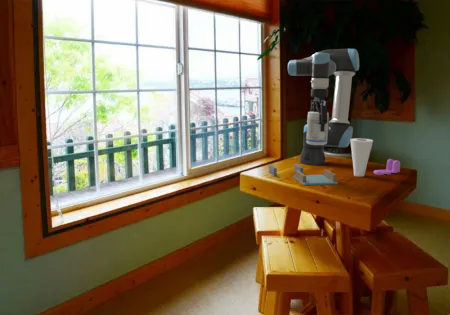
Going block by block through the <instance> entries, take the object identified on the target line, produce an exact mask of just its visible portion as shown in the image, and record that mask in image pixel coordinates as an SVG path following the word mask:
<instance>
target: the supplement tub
mask: <svg viewBox="0 0 450 315" xmlns="http://www.w3.org/2000/svg"><path fill="white" fill-rule="evenodd" d="M319 114H321V113H318V112H310V111H308V112H307V120H306V123H307V138H306V142H307V143H308V144H311V145H325V144H327V136H328V125H329V119H330V118H329V112H328V111H327V121H328V123H326V124H325V135H324V139H318V128H319V124H318V123H319Z"/></svg>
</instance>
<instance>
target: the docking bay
mask: <svg viewBox="0 0 450 315" xmlns="http://www.w3.org/2000/svg"><path fill="white" fill-rule="evenodd" d="M337 177H338V176H337V174H336V173H334V172H331V171H330V170H328V169H323V174H305V173H304V172H303V173H301V172H300V171H299V170H295V172H294V174H293V178H294V179H296V180H297V181H298V182H299V183H301V184H302V185H303V186H318V185H319V186H321V185H322V186H323V185H339V182H338V181H337Z"/></svg>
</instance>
